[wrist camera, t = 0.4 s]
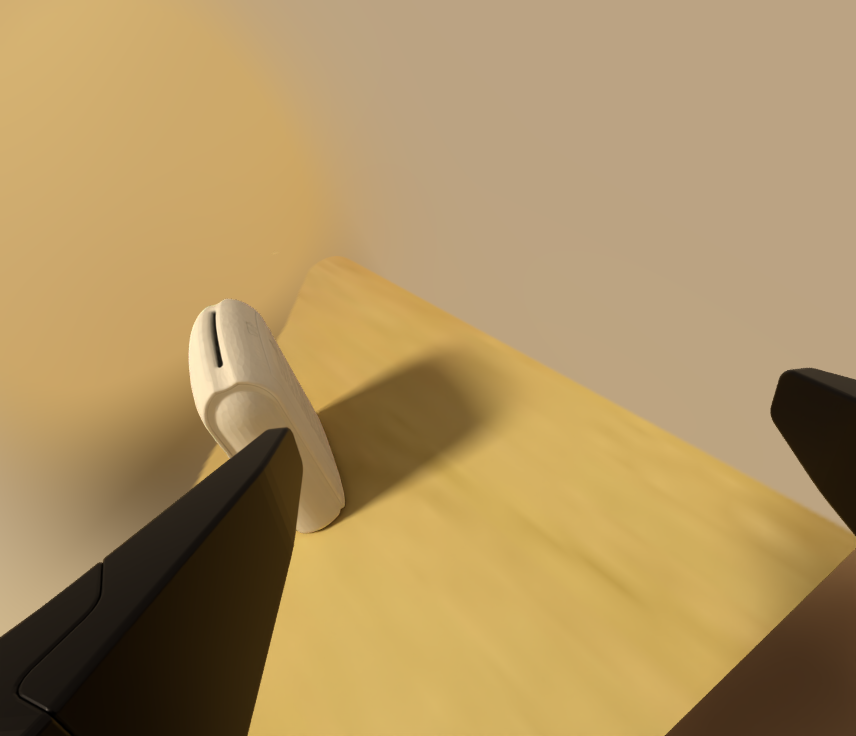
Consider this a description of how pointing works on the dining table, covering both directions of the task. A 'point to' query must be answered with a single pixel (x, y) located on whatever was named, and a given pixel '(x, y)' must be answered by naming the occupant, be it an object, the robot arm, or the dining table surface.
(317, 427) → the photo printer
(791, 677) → the brown flat block
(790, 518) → the dining table surface
